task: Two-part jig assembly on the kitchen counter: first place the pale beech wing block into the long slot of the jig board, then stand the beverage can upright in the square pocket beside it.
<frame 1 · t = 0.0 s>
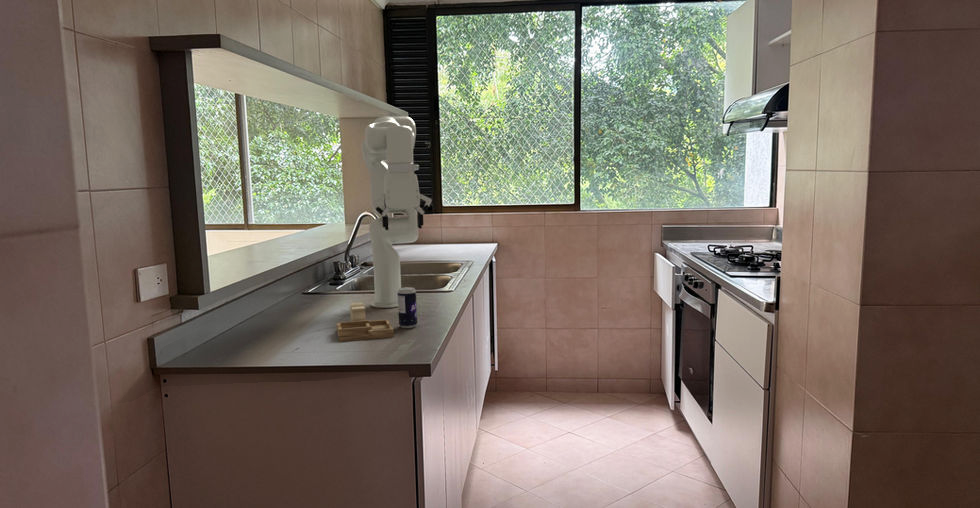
hand: (403, 228, 189), 31 cm above the countertop, fingers open, 9 cm apart
wing block: (358, 324, 207), on the countertop
beverage can: (408, 327, 202), on the countertop
jig: (364, 333, 194), on the countertop
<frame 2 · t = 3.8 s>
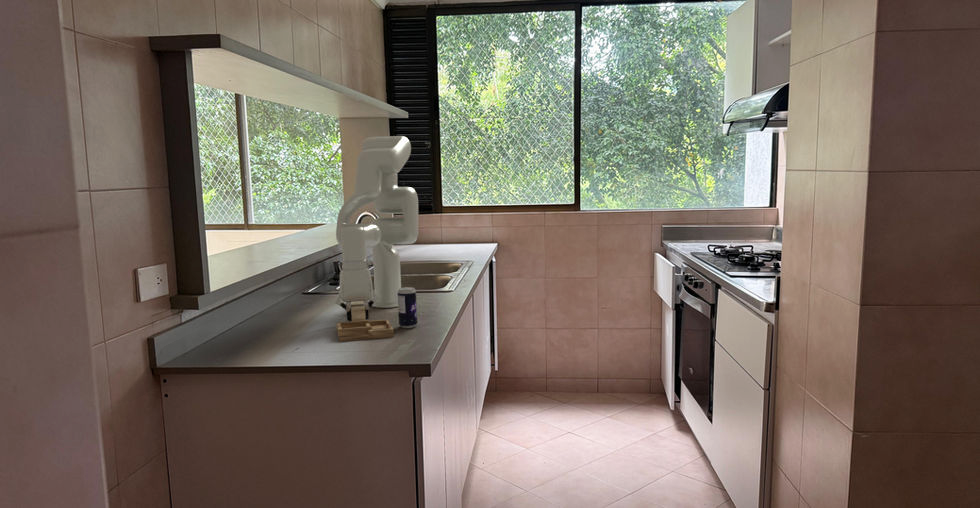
hand: (358, 321, 207), 1 cm above the countertop, fingers closed on wing block, 4 cm apart
wing block: (358, 323, 207), on the countertop, touching gripper
everything else where it was.
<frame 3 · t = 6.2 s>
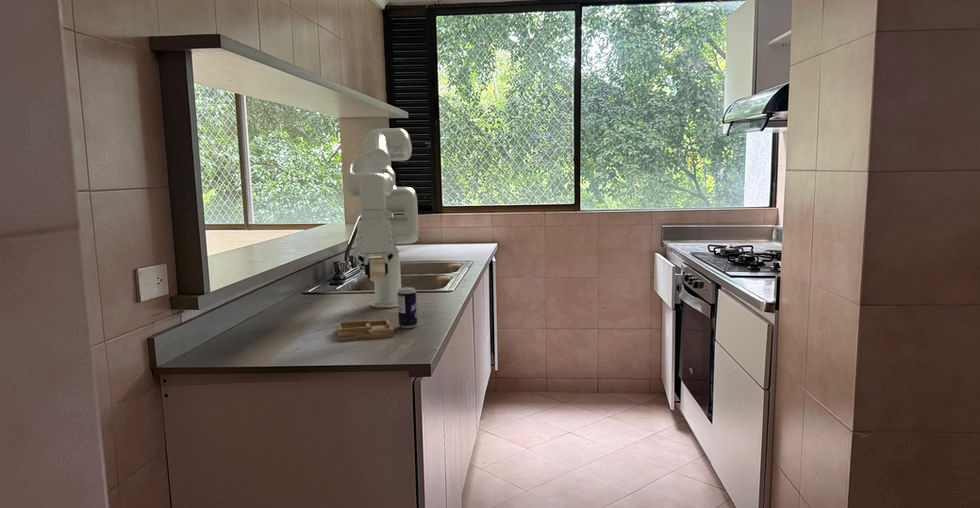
hand: (376, 276, 193), 17 cm above the countertop, fingers closed on wing block, 4 cm apart
wing block: (376, 278, 193), point 16 cm above the countertop, touching gripper
everything else where it was.
when the fingers open (3 cm above the countertop, at t = 9.0 s): wing block drops 1 cm, resting on jig.
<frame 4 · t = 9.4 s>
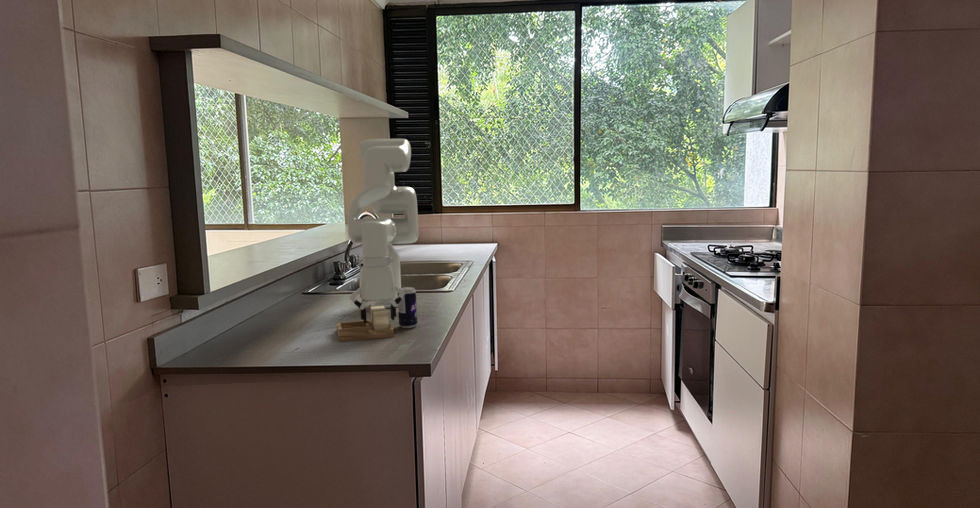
hand: (378, 320, 195), 4 cm above the countertop, fingers open, 7 cm apart
wing block: (379, 328, 195), point 1 cm above the countertop, touching jig
everything else where it was.
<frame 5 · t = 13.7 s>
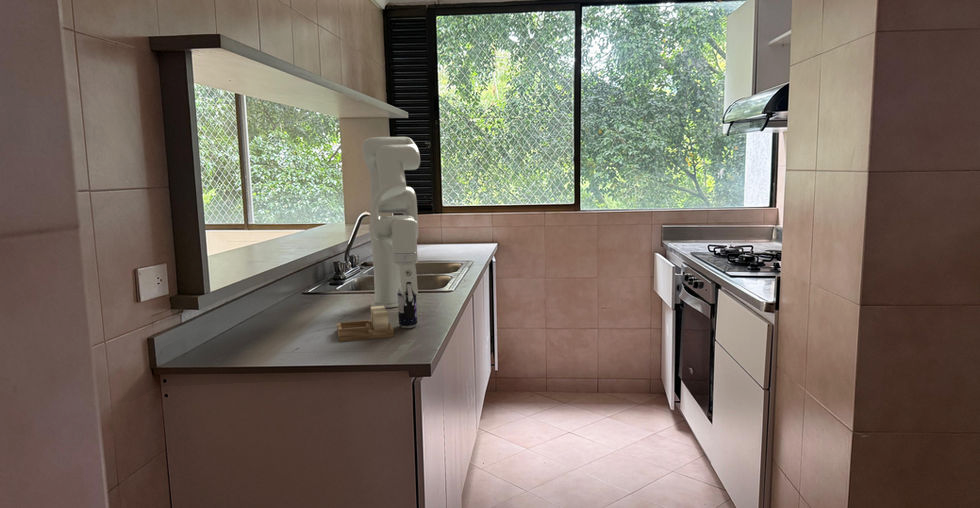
hand: (407, 315, 201), 4 cm above the countertop, fingers closed on beverage can, 5 cm apart
beverage can: (408, 327, 202), on the countertop, touching gripper
everything else where it was.
when the fingers open (5 cm above the countertop, at t = 19.2 s): beverage can stays where it is, resting on jig.
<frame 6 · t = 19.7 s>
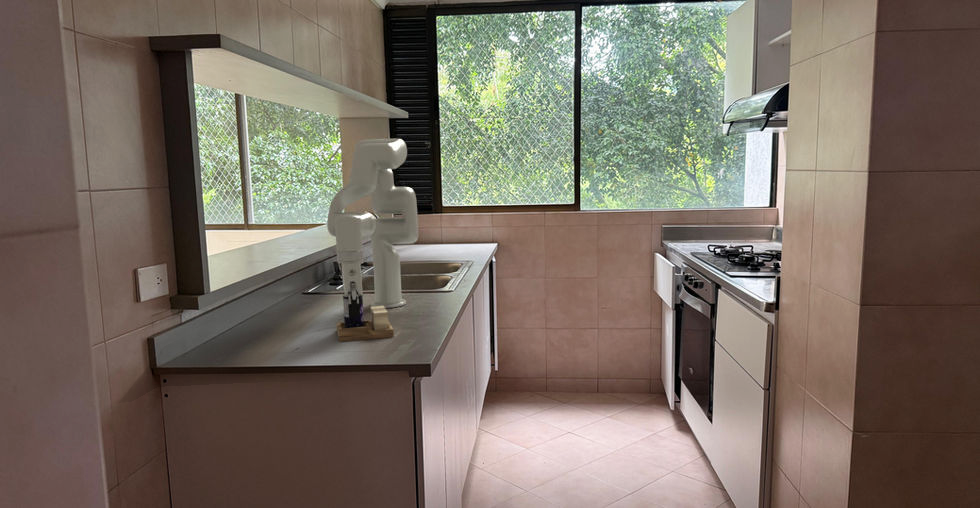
hand: (353, 313, 192), 6 cm above the countertop, fingers open, 9 cm apart
beverage can: (354, 331, 193), point 1 cm above the countertop, touching jig
everything else where it was.
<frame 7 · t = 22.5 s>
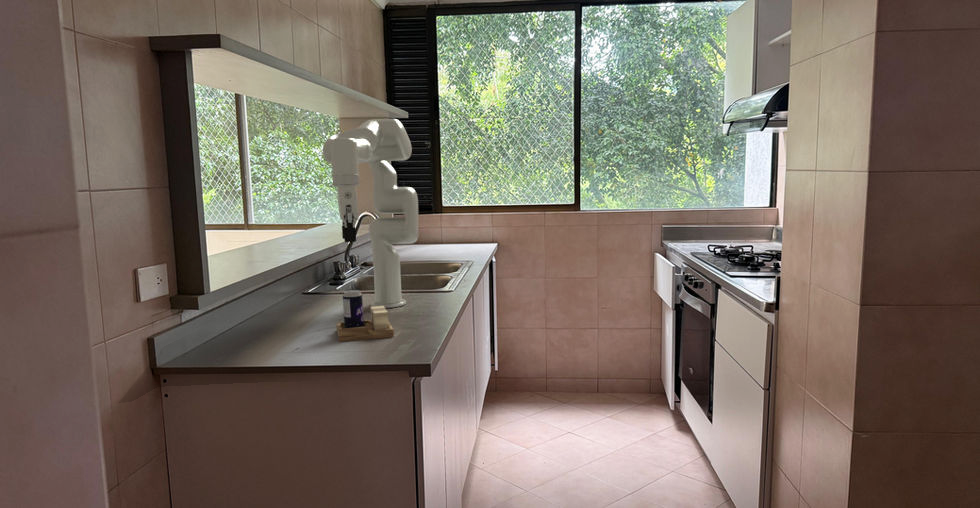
hand: (349, 240, 190), 28 cm above the countertop, fingers open, 9 cm apart
nothing on the countertop moved.
at the end: beverage can 0.2 cm from the target spot on the jig, point 0.8 cm above the jig's base; beverage can tilted 0°; wing block 0.2 cm from the target spot on the jig, point 1.0 cm above the jig's base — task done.
